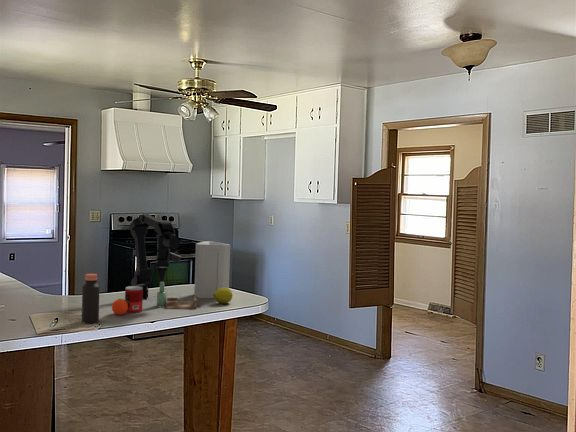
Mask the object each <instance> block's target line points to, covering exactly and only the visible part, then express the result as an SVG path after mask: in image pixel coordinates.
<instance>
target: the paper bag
mask: <svg viewBox="0 0 576 432" xmlns="http://www.w3.org/2000/svg"><path fill="white" fill-rule="evenodd" d="M194 261H195V262H194V263H195V266H194V288H193V289H194V290H193V291H194V295H196V298H199V299H215V298H214V296H213V295H214V293H215V292H216V291H217V290H218V289H220V288H228V289H230V270H231V269H230V266H231V265H230V263H231V262H230V261H231V244H228V243H223V242H218V241H217V242H216V241H211V240H207V241H201V242H197V243H195V260H194ZM194 295H193V296H194Z"/></svg>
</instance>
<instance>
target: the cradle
mask: <svg viewBox="0 0 576 432" xmlns="http://www.w3.org/2000/svg"><path fill="white" fill-rule="evenodd" d="M197 300H198V299H197V297H196V295H193V300H179V298H178V297H166V306H165V309H169V310H170V309H172V310H173V309H175V310H176V309H177V310H179V309H180V310H181V309H182V310H183V309H184V310H186V309H189V310H190V309H191V310H192V309H193V310H195V309H197V308H198V306H197V305H198V304H197V303H198V302H197Z"/></svg>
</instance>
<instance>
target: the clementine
mask: <svg viewBox="0 0 576 432" xmlns="http://www.w3.org/2000/svg"><path fill="white" fill-rule="evenodd" d="M126 301H127V300H126ZM126 301H125V298H119V299H115V300H114V301H113V303H112V305H111V310H112V312H113V314H115V315H118V316H122V315H124V314H125V313H127V312H126V311H127V309H128V304H129V303H128V304H127V302H128V301H127V302H126Z"/></svg>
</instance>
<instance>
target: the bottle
mask: <svg viewBox="0 0 576 432" xmlns="http://www.w3.org/2000/svg"><path fill="white" fill-rule="evenodd" d="M156 293H157V294H156V307H158V306H161V307H162V308H163V306H164V307H166V301H167V291H165V282H164V281H160V282H159V291H157V292H156Z"/></svg>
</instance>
